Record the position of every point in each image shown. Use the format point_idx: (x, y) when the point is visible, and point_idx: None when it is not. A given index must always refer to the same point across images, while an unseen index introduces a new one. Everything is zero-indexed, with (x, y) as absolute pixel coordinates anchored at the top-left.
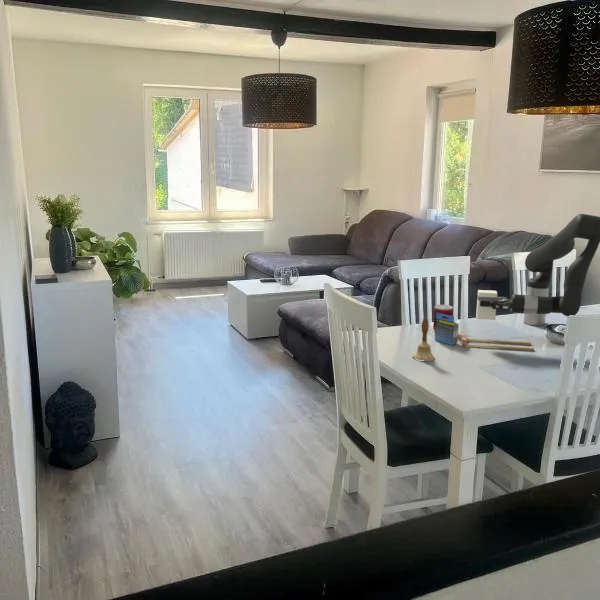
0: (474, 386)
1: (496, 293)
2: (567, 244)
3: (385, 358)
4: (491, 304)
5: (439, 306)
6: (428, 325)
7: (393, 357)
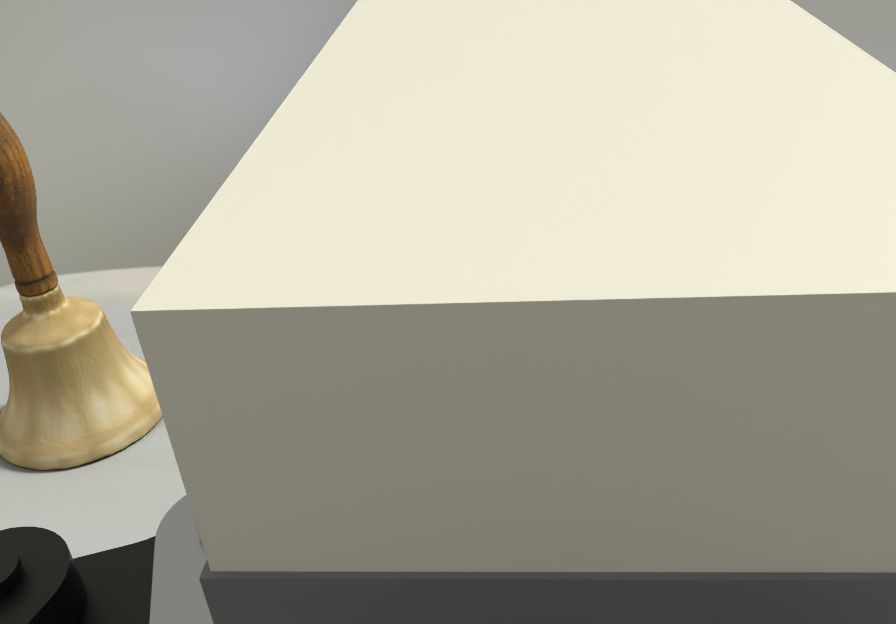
0: None
1: (167, 292)
2: None
3: (127, 272)
4: (151, 578)
5: None
6: None
7: (137, 295)
